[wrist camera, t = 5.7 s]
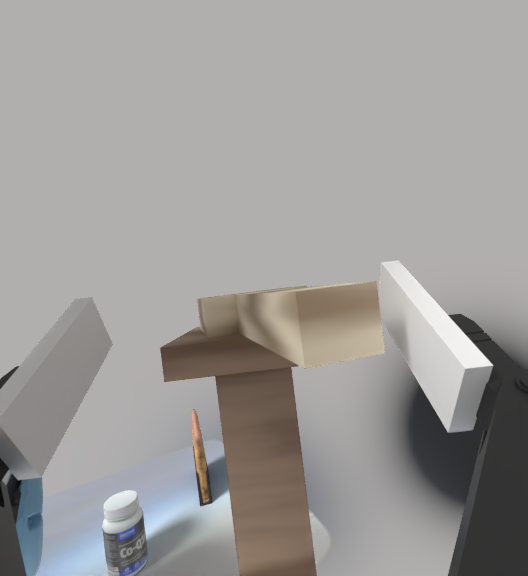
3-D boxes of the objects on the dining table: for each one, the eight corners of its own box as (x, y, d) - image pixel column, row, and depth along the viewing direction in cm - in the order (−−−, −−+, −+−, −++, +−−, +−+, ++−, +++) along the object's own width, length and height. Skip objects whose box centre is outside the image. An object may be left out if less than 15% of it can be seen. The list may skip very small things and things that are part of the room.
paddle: (432, 343, 12) (424, 275, 12) (244, 380, 10) (234, 299, 10) (283, 317, 28) (279, 288, 28) (200, 329, 27) (197, 298, 27)
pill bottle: (125, 587, 39) (117, 516, 39) (99, 575, 41) (91, 507, 41) (156, 555, 43) (148, 491, 43) (131, 546, 45) (123, 485, 45)
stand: (394, 841, 19) (331, 327, 19) (223, 857, 19) (160, 347, 19) (351, 651, 29) (310, 313, 29) (238, 663, 29) (197, 326, 29)
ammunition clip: (196, 472, 62) (188, 408, 62) (206, 469, 63) (198, 406, 63) (200, 506, 52) (190, 430, 52) (212, 503, 52) (202, 427, 52)
